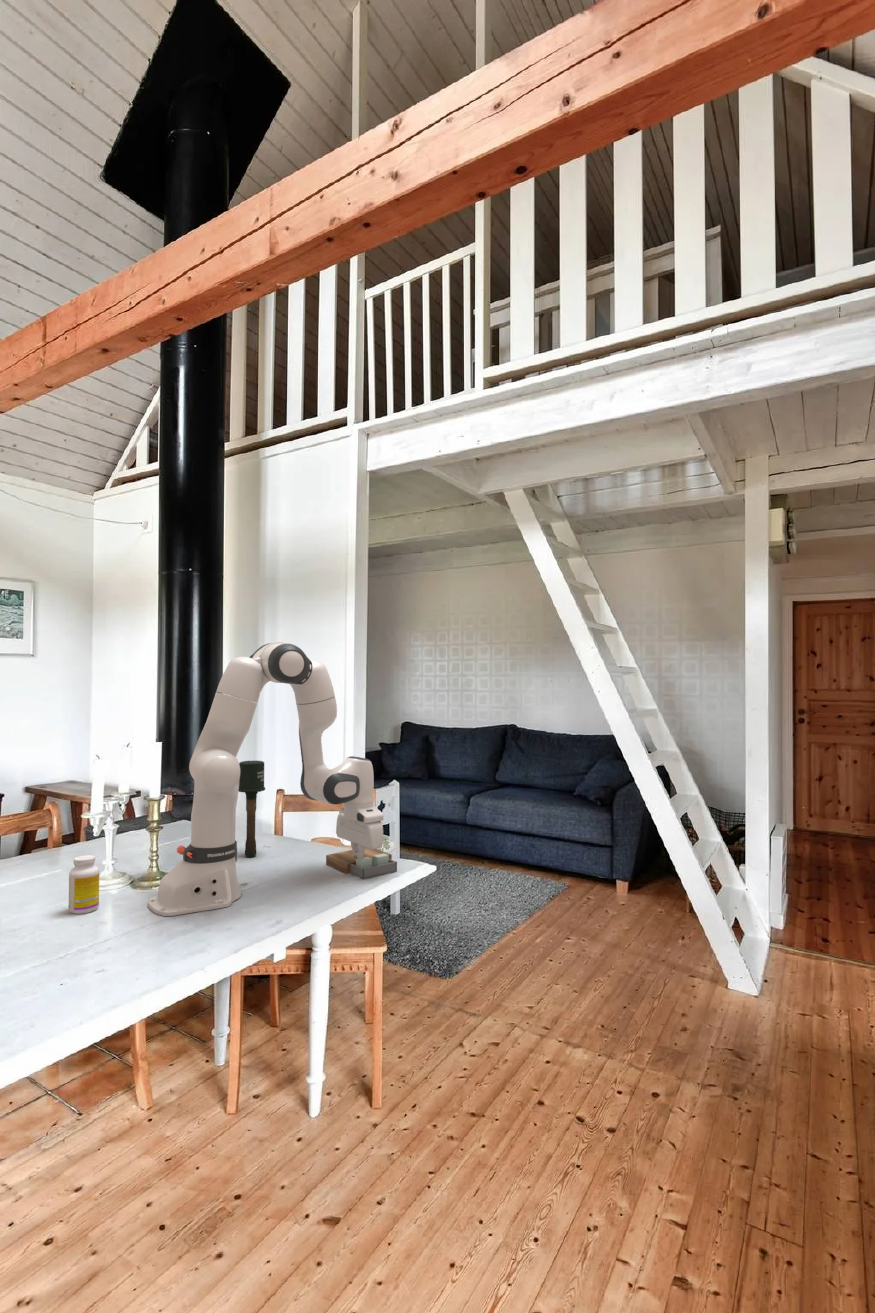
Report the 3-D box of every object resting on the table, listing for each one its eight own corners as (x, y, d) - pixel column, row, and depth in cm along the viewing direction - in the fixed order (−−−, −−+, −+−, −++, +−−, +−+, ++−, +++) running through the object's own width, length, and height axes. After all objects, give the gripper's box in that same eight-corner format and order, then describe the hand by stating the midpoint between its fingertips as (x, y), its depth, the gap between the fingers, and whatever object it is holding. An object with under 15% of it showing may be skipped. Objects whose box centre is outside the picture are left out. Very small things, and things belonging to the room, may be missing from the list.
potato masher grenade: (260, 860, 208) (261, 764, 208) (232, 860, 208) (234, 763, 209) (267, 853, 216) (268, 760, 217) (241, 852, 216) (242, 760, 217)
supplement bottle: (104, 908, 165) (105, 856, 166) (78, 917, 160) (79, 863, 160) (88, 903, 169) (89, 852, 169) (62, 911, 163) (63, 858, 163)
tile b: (372, 869, 198) (377, 871, 197) (372, 855, 199) (377, 857, 197) (383, 866, 201) (388, 868, 199) (383, 853, 201) (388, 855, 199)
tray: (362, 879, 190) (363, 869, 190) (350, 873, 195) (350, 864, 195) (396, 871, 197) (396, 862, 197) (383, 866, 203) (383, 856, 203)
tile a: (355, 873, 195) (360, 875, 193) (356, 859, 195) (360, 861, 193) (367, 870, 197) (372, 872, 195) (367, 856, 197) (372, 858, 196)
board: (347, 874, 194) (347, 864, 194) (326, 865, 204) (326, 855, 204) (391, 864, 205) (391, 854, 205) (369, 855, 214) (369, 846, 214)
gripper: (331, 806, 203) (330, 852, 203) (368, 818, 188) (368, 868, 187) (348, 804, 207) (348, 849, 207) (387, 815, 192) (386, 863, 192)
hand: (358, 858), depth 197 cm, fingers closed
